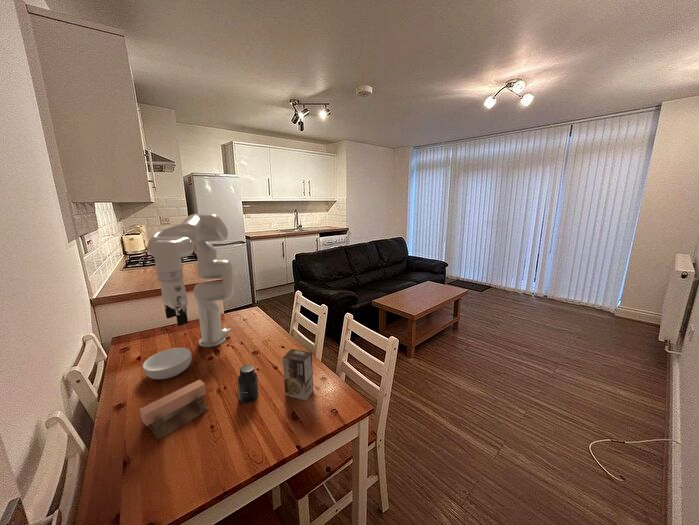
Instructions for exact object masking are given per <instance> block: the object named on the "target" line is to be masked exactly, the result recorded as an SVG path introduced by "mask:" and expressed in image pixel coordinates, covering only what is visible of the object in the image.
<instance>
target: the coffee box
mask: <svg viewBox="0 0 699 525" xmlns="http://www.w3.org/2000/svg"><path fill="white" fill-rule="evenodd" d="M282 367H283V379H284V395H285V396H287V397H291V398H295V399H299V400H302V401H307V400H308V399H309V397H310V396H311V395H312V393H313V392H314V377H313V376H314V375H313V374H314V373H313V352H310V351H305V350H299V349H294V348H291V349H289V351H288V352H286V354H285V355H283V357H282Z"/></svg>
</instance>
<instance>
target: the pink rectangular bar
mask: <svg viewBox="0 0 699 525" xmlns="http://www.w3.org/2000/svg"><path fill="white" fill-rule="evenodd" d="M188 384H189V385H188ZM188 384H186V385H187V386H186V385H184V386H183V387H182V388H180V389H177V390H176V391H173V392H171V393H169V394H167V395H165V396H163V397H161V398H159V399H157V400H155V401H154V402H152V403H151V402H150V403H151V404H149V403H148V404H149V405H147V404H146V405H147V406H145V405H144V406H143V407H141V408H139V412H140V418H141V420H142V422H143V424H144V425H145V427H147V426H148V425H149V424H151V423H153V422H155V417H157V416H159V415H161V414H162V416H163V417H164V416H166V415H168V414H170V413H172V412H173V411H175V410H177V409H179V408H181V407H183V406H184V405H186V404H188V403H190V402H192V401H194V400H196V396H197V395H199V394H200V393H202V394H203V396H205V395H207V389H206V384H205V383H204V382H203V381H202V380H201V379H198V380H195V381H194V382H192V383H188ZM148 427H149V426H148Z"/></svg>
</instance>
